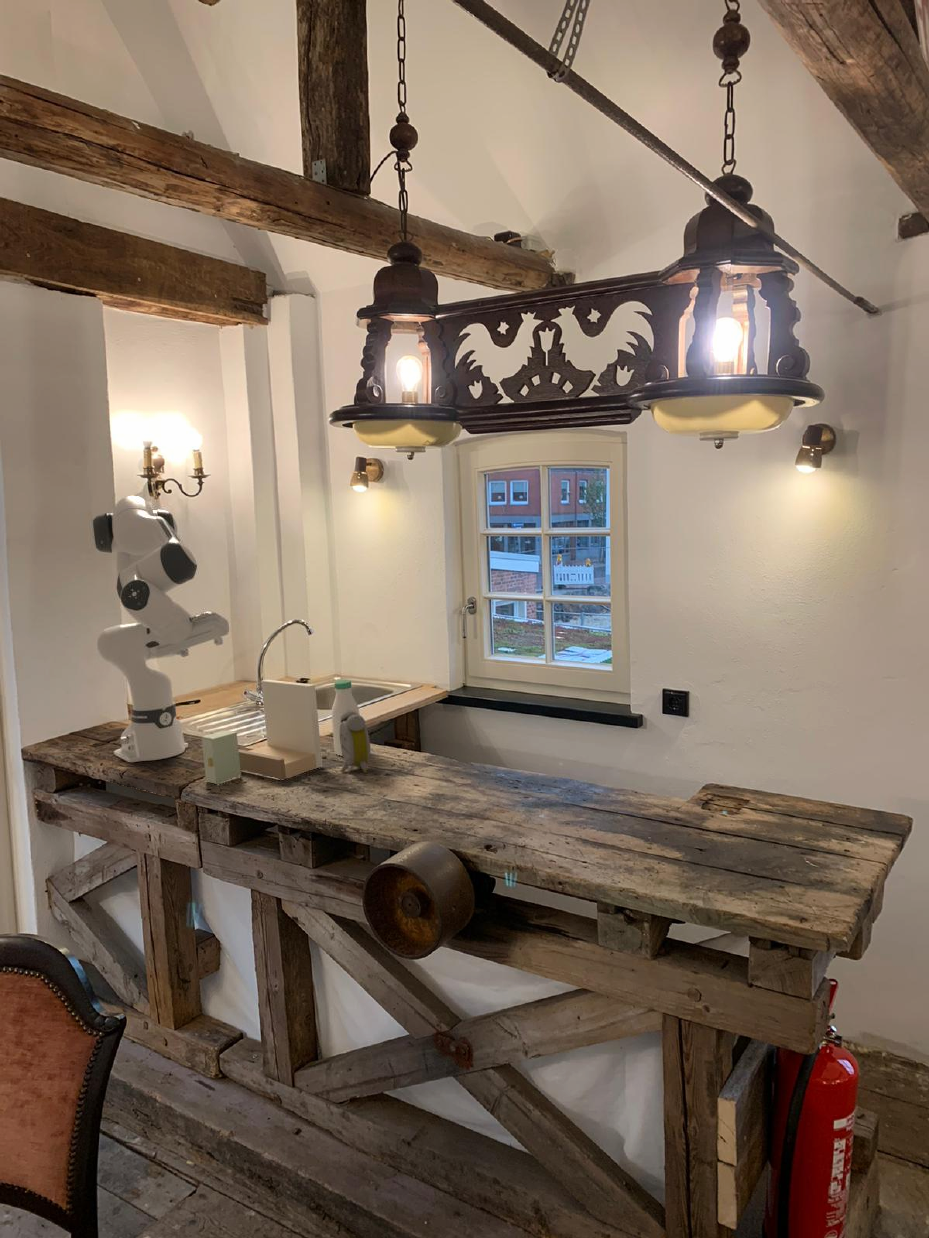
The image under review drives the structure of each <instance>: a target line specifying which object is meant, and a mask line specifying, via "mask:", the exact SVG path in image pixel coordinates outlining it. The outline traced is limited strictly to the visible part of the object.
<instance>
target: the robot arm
mask: <svg viewBox="0 0 929 1238" xmlns="http://www.w3.org/2000/svg"><path fill="white" fill-rule="evenodd" d="M177 525H178V524H177V522H176V520H175V517H174V516H173V514H172V513H171V512H170V511H168V510H162V509H157V510H153V507H151V504H149V502H148V501H147V500H145V499H144V498H142V497H140V496H136V495H130V496H129V495H128V496H125V497H122V499H120V500H118V501H117V503H116V505H115V507H114V509H113V512H111V513H109V512H106V513H102V514H99V515H96V516H95V518H93V519H92V523H91V526H90V538H91V541H92V543H93V545H94V546H95V548H96V549H97V550H98V551H99V552H102V553H109V554H112V552H113V553H115V552H116V553H117V554H116V568H117V580H116V591H117V595H118V598H119V600H120V602H121V605H122V606H123V608H124V609H125V610H126V611H127V613H128V614H129V615H130V617H132V618H133V619H134V620H135V621H136V622H129V623H122V624H117V625H114V626H110V627H106V628H104V629H102V630H101V632H100V634H98V635H99V636H98V639H97V645H96V646H97V650H98V653H99V655H100V656H101V658H102V659H103V660H104V661H106V662H107V663H109V664H111V665H113V666H114V667H116V669H118V670H119V671H120V672H121V673H122V674H123V676H124V678H125V679H126V681H127V683H128V686H129V690H130V694H131V695H130V696H131V701H132V708H133V709H130V710H129V712H130V724H129V725H128V726H127V727H126V728H125V729H124V731H123V732H122V733H121V735H120V737H119V743H120V745H121V747H120V748H118V749H115V750H113V755H114V756H116V757H119V758H120V759H122V760H124V761H126V762H127V763H135V762H143V761H144V762H146V761H157V760H162V759H168V758H171V757H176V756H178V755H180V754H182V753H184V752H185V750H186V749H187V748H189V743H188V742H185V737H184V733H183V728H182V724H181V721H180V719H178V718H177V708H176V704H175V703H174V696H173V695H174V694H173V688H172V681H171V680H172V679H170V677H169V676H168V675H167V674H166V673H164V672H161V671H159V670H156V669H153V668H150V667H148V665H147V661H149V660H154V659H163V658H169V657H170V658H171V657H175V656H180V657H182V658H185V657H188V656H189V650H190V649H191V647H195V646H198V645H201V644H204V643H207V642H210V641H213V640H214V641H213V644H215V646H217V647H218V646H220V645H223V644H224V642H223V641H224V640H223V637H225V636H227V635H229V632H230V625H229V621H228V620H227V619H226V618H225V617H223V616H222V615H220V614H218V613H216V612H214V611H206V612H203V613H200V614H197V615H193V616H192V615H191V614H190V612H188V611H187V610H186V609H185V608H184V607H183V606H182V605H180V604H179V603H177V602H175V601H173V599H172V598H171V597H170V596H169V595H168V594H167V593H169V592H171V591H172V590H173V589H175V588H177V587H179V585H182V584H184V583H186V582H189V581H190V580H193V579H194V578H195V576H196V574H197V569H198V568H197V567H198V564H197V561H196V558H195V556H194V555H193V553H192V551H191V550H190V549H189V548H188V547H187V546H186V545H185V544H184V542H183V541H182V539H181V538H180V536H179V535H178V526H177Z"/></svg>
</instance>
